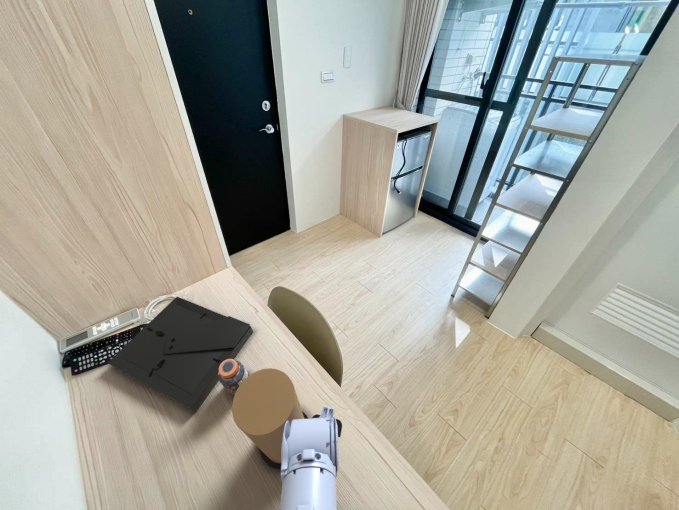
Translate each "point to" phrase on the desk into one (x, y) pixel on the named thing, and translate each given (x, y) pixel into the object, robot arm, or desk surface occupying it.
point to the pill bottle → (232, 375)
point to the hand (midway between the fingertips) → (320, 462)
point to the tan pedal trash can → (266, 409)
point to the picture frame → (183, 351)
